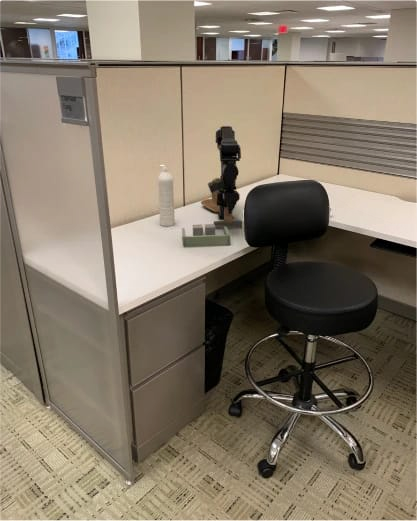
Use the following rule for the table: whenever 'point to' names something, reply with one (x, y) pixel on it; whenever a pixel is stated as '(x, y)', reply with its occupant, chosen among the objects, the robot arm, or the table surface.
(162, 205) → the white pump bottle
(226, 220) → the hoe
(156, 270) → the table surface
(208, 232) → the stone block
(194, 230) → the stone block
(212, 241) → the bin
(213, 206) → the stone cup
